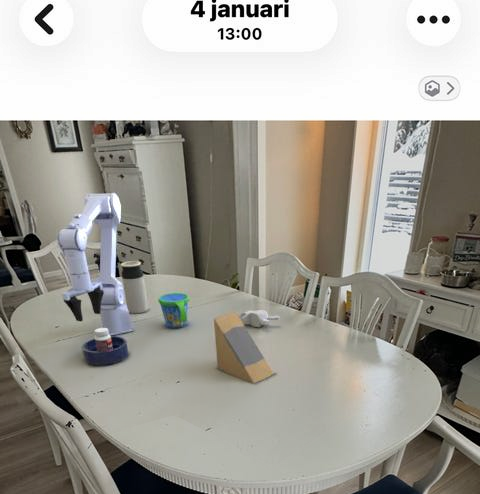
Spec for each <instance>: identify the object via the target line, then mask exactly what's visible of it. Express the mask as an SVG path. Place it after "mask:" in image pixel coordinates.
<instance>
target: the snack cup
mask: <svg viewBox="0 0 480 494" xmlns="http://www.w3.org/2000/svg"><path fill="white" fill-rule="evenodd" d="M189 302H190V296H189V295H188V294H186V293H184V292H183V293H182V292H172V293H171V292H170V293H166V294H165V293H164V294H163V295H160V296H159V297H158V303H159V305H160V308H161V311H162V315H163V319H164V322H165V325H166V326H167V327H169V328H170V329H179V328H180V329H181V328H183V327H185V326H186V325H188V313H189V312H188V310H189Z"/></svg>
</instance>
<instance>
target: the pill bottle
mask: <svg viewBox="0 0 480 494" xmlns="http://www.w3.org/2000/svg"><path fill="white" fill-rule="evenodd" d="M94 338H95V342H96V346H97V351H98V352H101V351H109V350H113V346H112V341H111V336H110V335H109V332H108V329H107V328H103V327H98V328H96V329H94Z"/></svg>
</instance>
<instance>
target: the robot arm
mask: <svg viewBox="0 0 480 494" xmlns="http://www.w3.org/2000/svg"><path fill="white" fill-rule="evenodd" d="M121 216H122V204H121V202H120V198H119V196H118V195H117V194H116V192H111V193H90V192H89V193H86V196H85V197H84V207H83V209H82V211H81V213H75V214H74V215H73V218H72V219H71V221H70V222H69V224H67V227H66V228H62V229H60V230H59V231H58V233H57V242H56V243H57V245H58V248H59V249H60V250H61V253H62V256H63V257H64V258H65V262H66V266H67V270H68V273H69V274H68V275H69V280H70V284H71V288H70V289H67V290H66V291H64V292H61V297H62V300H63V302H64V303H65V304H66V306H67V307H68V308H69V309H70V311H71V312H72V315H73V316H74V318H75V320H76V322H83V319H84V317H83V312H82V299H79V298H78V297H79V296H83V295H85V294H87V296H88V298H89V300H90V303H91V307H92V311H93V314H95V315H100V321H101V325H102V328H107V329H108V332H109V335H110V336H117V335H121V334H125V333H126V334H127V333H130V332H133V328H132V322H131V316H130V312H129V311H128V308H127V304H125V303H124V302H125V291H124V286H123V282H121V281H120V280H118V278H116V266H117V265H116V262H117V261H116V260H117V232H118V231H117V229H118V227H117V226H118V225H119V224H120V223H121ZM93 223H94V224H95V225H97V226H99V227H100V250H99V253H100V256H99V257H100V258H99V262H100V263H99V276H98V277H97V278H95V279H94V280H93V282H92V281H91V276H90V270H89V266H88V261H87V257H86V252H85V251H86V249H87V241H88V236H89V235H90V233H91V232H92V230H93Z"/></svg>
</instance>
